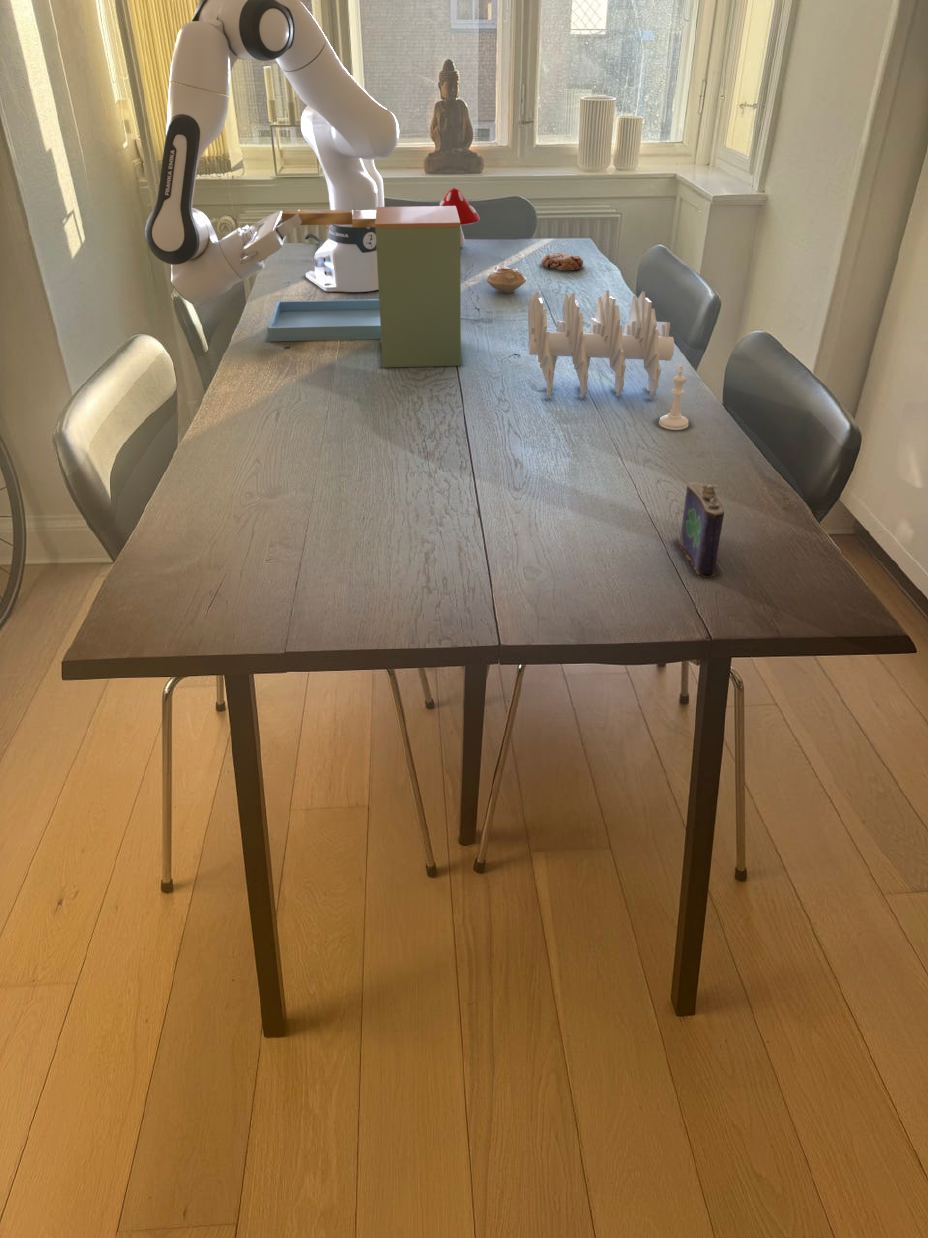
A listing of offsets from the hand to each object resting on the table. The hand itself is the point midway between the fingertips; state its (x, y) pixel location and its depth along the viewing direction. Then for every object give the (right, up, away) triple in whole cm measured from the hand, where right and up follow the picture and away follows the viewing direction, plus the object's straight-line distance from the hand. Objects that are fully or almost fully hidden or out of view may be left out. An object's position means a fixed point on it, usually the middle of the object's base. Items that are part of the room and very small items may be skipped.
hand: (301, 214), depth 189 cm
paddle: (+8, -1, +1) cm, 8 cm away
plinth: (+24, -28, -2) cm, 37 cm away
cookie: (+57, +9, +52) cm, 78 cm away
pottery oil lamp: (+42, -3, +36) cm, 55 cm away
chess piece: (+68, -48, -30) cm, 88 cm away
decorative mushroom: (+30, +20, +68) cm, 77 cm away
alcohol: (+8, +16, +62) cm, 65 cm away
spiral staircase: (+57, -40, -18) cm, 72 cm away
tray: (+8, -18, +13) cm, 24 cm away
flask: (+63, -73, -66) cm, 116 cm away
